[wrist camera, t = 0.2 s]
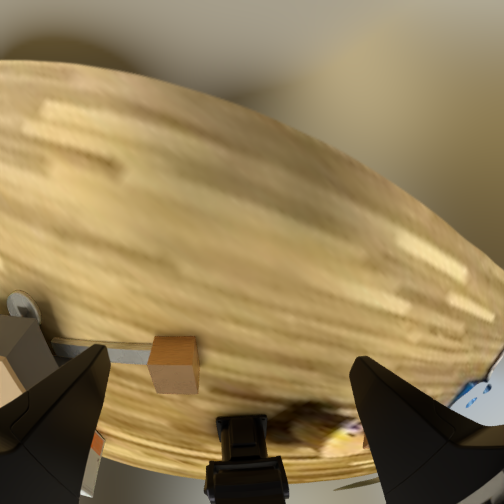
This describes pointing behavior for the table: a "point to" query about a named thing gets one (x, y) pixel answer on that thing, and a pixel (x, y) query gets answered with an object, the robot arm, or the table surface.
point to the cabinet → (23, 357)
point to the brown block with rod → (149, 359)
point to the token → (23, 306)
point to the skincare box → (92, 465)
